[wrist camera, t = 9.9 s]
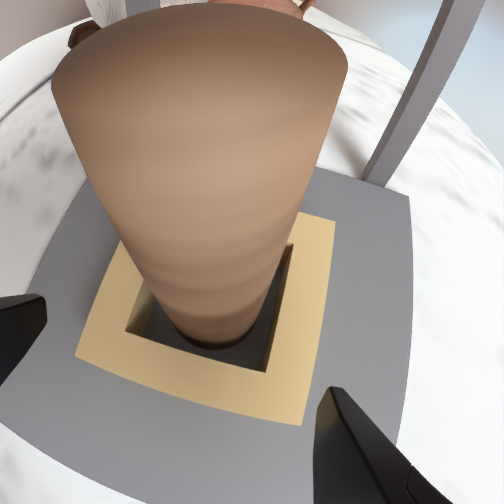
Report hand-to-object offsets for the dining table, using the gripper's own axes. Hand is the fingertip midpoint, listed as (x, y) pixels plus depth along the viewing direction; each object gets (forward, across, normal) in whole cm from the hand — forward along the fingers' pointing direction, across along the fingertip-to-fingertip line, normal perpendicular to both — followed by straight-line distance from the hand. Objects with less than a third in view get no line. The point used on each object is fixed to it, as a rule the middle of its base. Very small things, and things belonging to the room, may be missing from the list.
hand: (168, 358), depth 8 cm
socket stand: (+11, 0, +1) cm, 11 cm away
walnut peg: (+8, 0, +2) cm, 8 cm away
